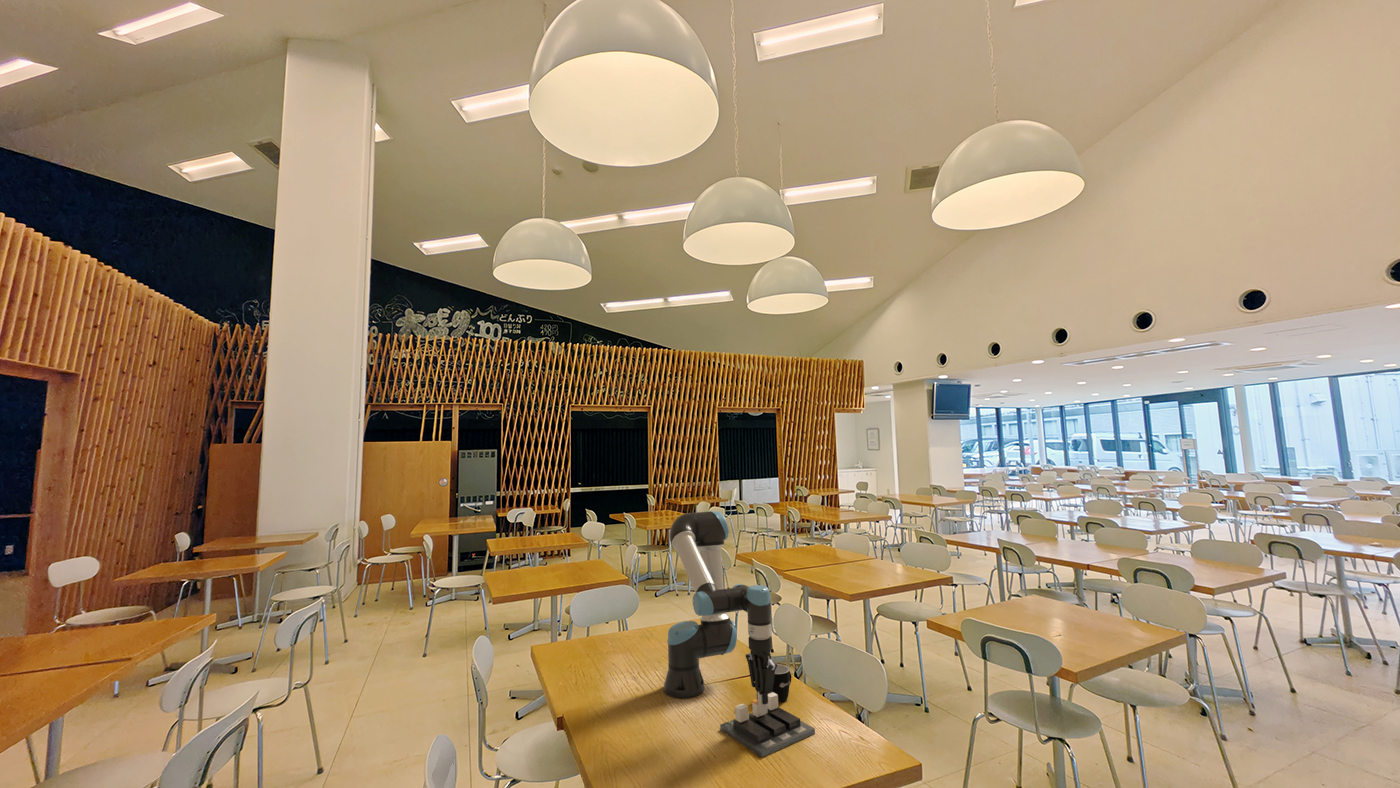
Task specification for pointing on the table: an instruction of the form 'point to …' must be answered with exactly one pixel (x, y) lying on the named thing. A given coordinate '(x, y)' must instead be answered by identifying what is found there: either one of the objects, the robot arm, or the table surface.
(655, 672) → the table surface
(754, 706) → the block
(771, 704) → the breaker far
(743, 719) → the block
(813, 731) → the panel
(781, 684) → the mug
